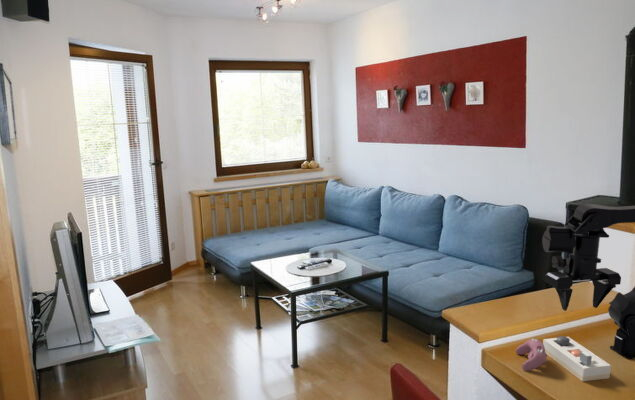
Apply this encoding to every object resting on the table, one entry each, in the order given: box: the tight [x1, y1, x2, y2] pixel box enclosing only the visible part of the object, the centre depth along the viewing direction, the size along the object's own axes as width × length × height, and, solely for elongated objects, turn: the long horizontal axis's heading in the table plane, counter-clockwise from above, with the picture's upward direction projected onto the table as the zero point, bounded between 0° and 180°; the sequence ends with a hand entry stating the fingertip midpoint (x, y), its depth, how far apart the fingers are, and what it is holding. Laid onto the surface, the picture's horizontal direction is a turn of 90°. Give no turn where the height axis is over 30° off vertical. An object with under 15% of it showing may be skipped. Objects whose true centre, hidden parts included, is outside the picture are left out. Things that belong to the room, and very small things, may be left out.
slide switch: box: [580, 352, 592, 366], centre depth 124 cm, size 1×2×4 cm, turn 11°
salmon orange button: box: [571, 350, 582, 357], centre depth 129 cm, size 3×3×2 cm
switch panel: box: [542, 336, 612, 382], centre depth 130 cm, size 8×16×3 cm, turn 11°
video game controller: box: [515, 337, 548, 372], centre depth 130 cm, size 10×5×7 cm, turn 169°
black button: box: [556, 335, 570, 347], centre depth 134 cm, size 3×3×2 cm
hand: (579, 308), depth 135 cm, fingers open, 9 cm apart
